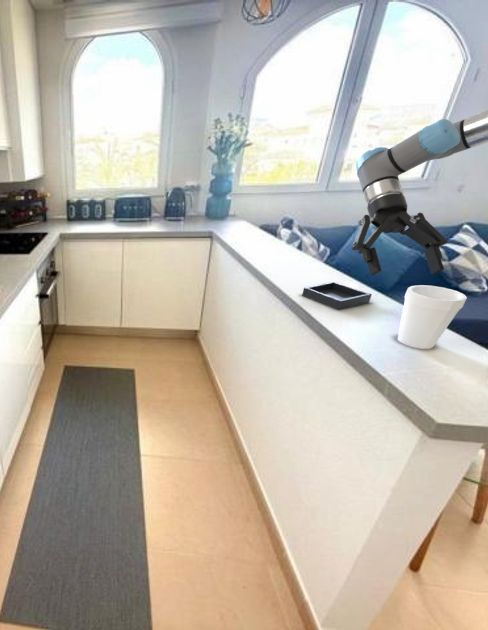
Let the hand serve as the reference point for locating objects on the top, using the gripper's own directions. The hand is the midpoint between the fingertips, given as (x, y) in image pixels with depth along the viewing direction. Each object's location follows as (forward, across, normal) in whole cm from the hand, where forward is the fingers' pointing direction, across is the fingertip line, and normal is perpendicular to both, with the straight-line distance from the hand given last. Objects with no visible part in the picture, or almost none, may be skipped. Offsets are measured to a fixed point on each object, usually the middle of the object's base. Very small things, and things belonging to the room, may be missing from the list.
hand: (406, 272), depth 85 cm
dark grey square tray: (-2, +4, -22) cm, 23 cm away
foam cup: (+17, 0, -4) cm, 18 cm away
